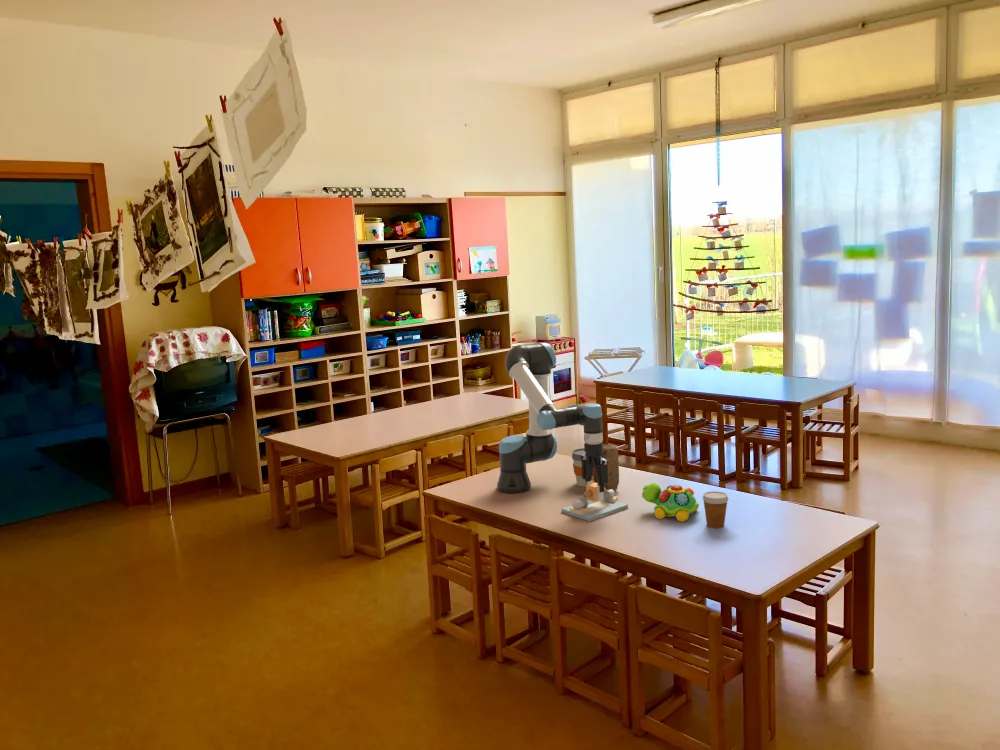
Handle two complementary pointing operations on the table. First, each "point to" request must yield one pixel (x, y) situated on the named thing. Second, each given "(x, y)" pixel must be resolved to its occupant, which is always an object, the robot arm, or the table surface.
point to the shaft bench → (595, 507)
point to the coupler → (592, 492)
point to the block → (610, 467)
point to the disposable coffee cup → (715, 508)
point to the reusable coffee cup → (579, 466)
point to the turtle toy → (671, 501)
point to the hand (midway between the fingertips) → (595, 498)
